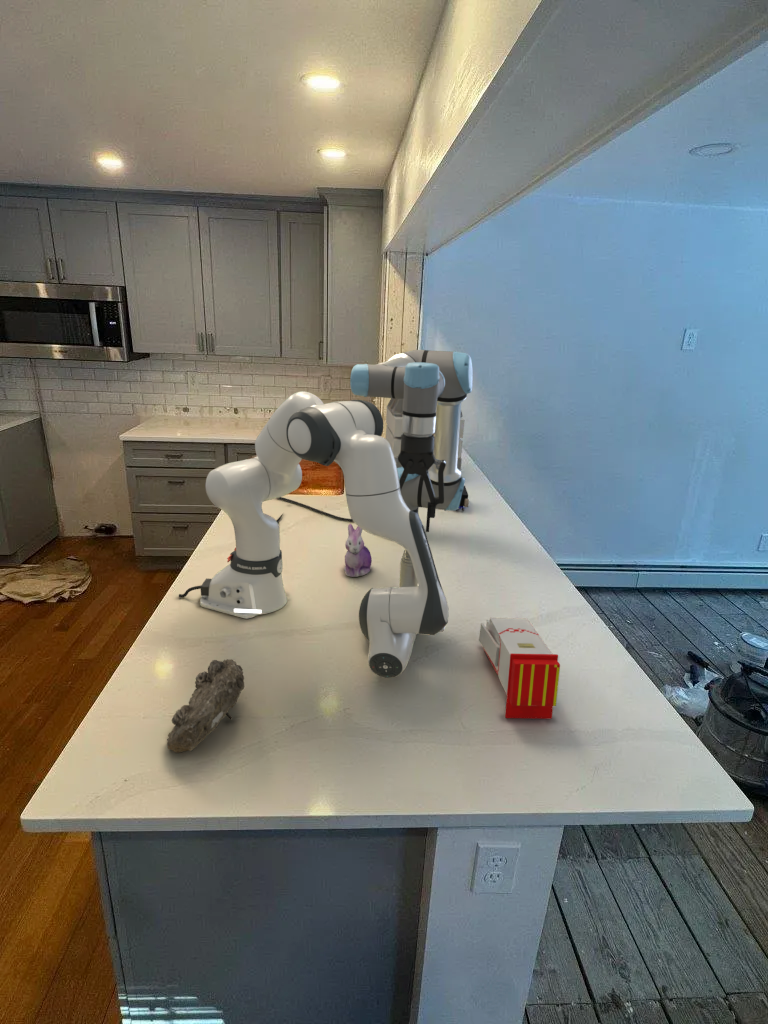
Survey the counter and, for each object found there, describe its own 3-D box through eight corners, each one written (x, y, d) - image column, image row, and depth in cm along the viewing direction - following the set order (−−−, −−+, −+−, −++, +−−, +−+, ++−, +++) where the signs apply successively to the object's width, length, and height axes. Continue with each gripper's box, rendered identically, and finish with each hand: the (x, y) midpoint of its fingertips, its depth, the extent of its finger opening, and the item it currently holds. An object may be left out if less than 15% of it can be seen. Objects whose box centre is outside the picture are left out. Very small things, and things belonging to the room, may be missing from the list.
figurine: (350, 580, 164) (351, 532, 159) (336, 566, 172) (336, 520, 167) (379, 575, 168) (381, 528, 163) (364, 561, 176) (365, 516, 171)
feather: (290, 508, 223) (292, 504, 223) (272, 532, 197) (275, 527, 196) (286, 505, 223) (289, 501, 223) (268, 529, 197) (271, 525, 196)
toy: (525, 603, 136) (569, 660, 107) (520, 654, 139) (562, 725, 109) (475, 601, 135) (505, 659, 106) (471, 653, 138) (499, 724, 109)
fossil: (192, 660, 117) (244, 628, 112) (224, 691, 120) (276, 661, 115) (142, 746, 98) (202, 712, 93) (182, 779, 101) (242, 748, 96)
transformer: (382, 463, 289) (386, 382, 275) (445, 464, 293) (451, 384, 279) (390, 482, 257) (394, 392, 243) (460, 483, 261) (468, 394, 247)
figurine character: (468, 516, 224) (463, 500, 237) (471, 498, 221) (465, 483, 234) (452, 515, 224) (447, 499, 237) (453, 498, 220) (449, 482, 234)
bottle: (416, 626, 142) (421, 544, 134) (397, 626, 142) (402, 544, 134) (413, 617, 146) (419, 537, 139) (396, 617, 146) (401, 537, 138)
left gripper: (444, 621, 127) (450, 593, 140) (356, 609, 131) (369, 582, 143) (442, 645, 129) (447, 615, 142) (355, 632, 133) (368, 604, 146)
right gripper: (461, 433, 130) (453, 526, 138) (376, 427, 132) (373, 520, 140) (462, 440, 123) (453, 537, 131) (372, 434, 125) (369, 531, 133)
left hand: (407, 598), depth 143 cm, fingers closed on bottle, 4 cm apart
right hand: (411, 528), depth 135 cm, fingers open, 7 cm apart
